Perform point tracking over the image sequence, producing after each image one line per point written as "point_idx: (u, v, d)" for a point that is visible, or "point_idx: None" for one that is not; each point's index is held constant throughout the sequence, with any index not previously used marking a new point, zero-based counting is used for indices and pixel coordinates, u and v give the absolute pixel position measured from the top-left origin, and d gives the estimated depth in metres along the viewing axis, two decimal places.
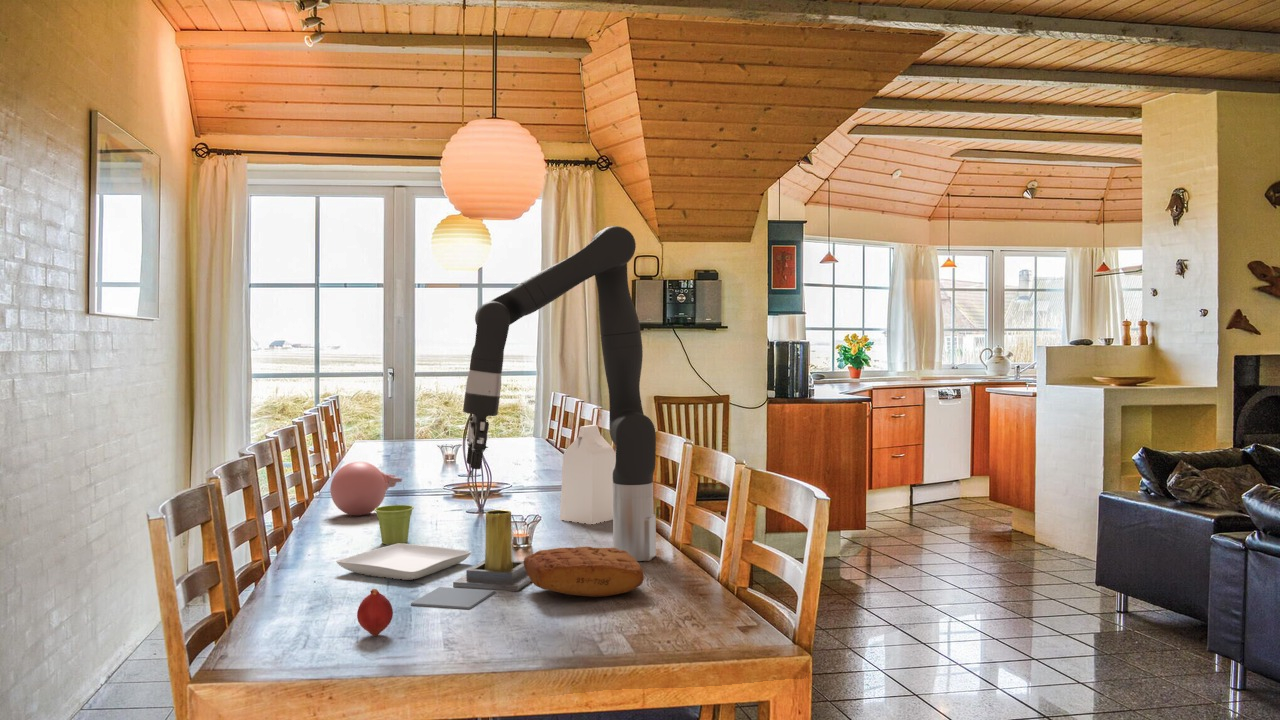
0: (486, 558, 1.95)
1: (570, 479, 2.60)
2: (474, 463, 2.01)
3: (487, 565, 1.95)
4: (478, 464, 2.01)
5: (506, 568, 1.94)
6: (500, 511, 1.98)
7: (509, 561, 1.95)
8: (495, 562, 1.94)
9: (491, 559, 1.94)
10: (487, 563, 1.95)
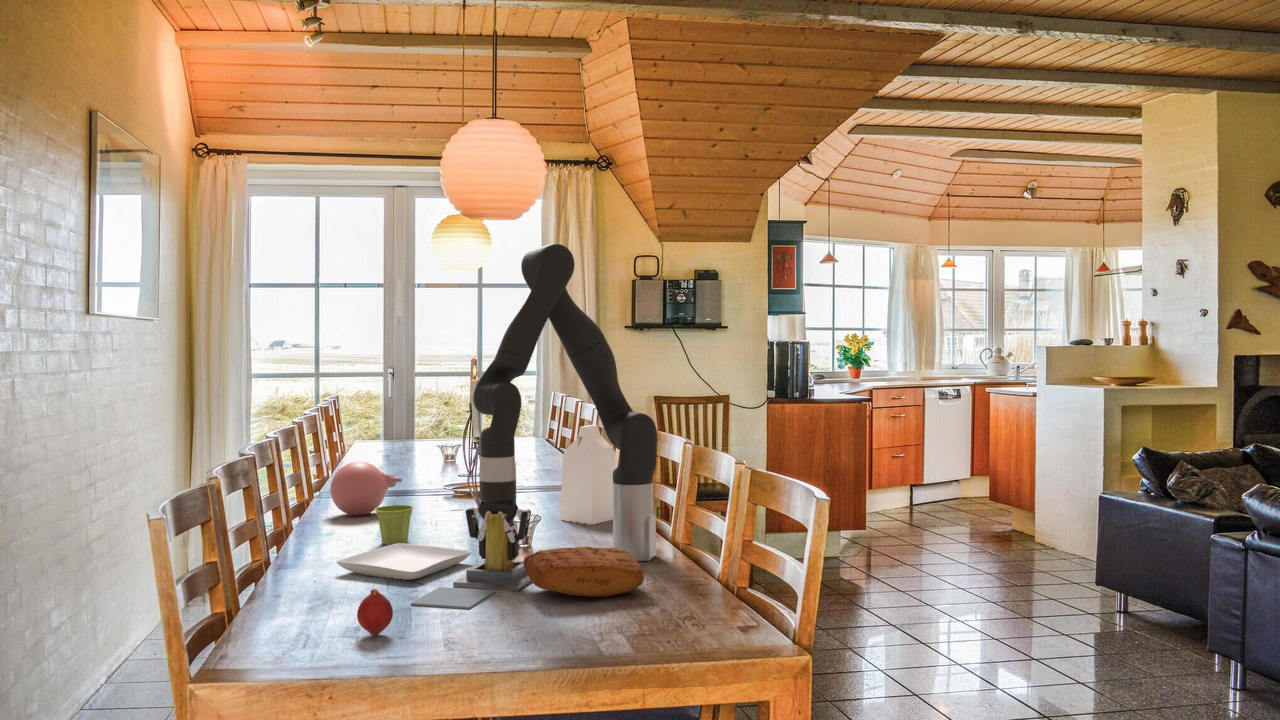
0: (486, 558, 1.95)
1: (570, 479, 2.60)
2: (516, 554, 1.95)
3: (487, 565, 1.95)
4: (517, 554, 1.96)
5: (506, 568, 1.94)
6: None
7: (509, 561, 1.95)
8: (495, 562, 1.94)
9: (491, 559, 1.94)
10: (487, 563, 1.95)
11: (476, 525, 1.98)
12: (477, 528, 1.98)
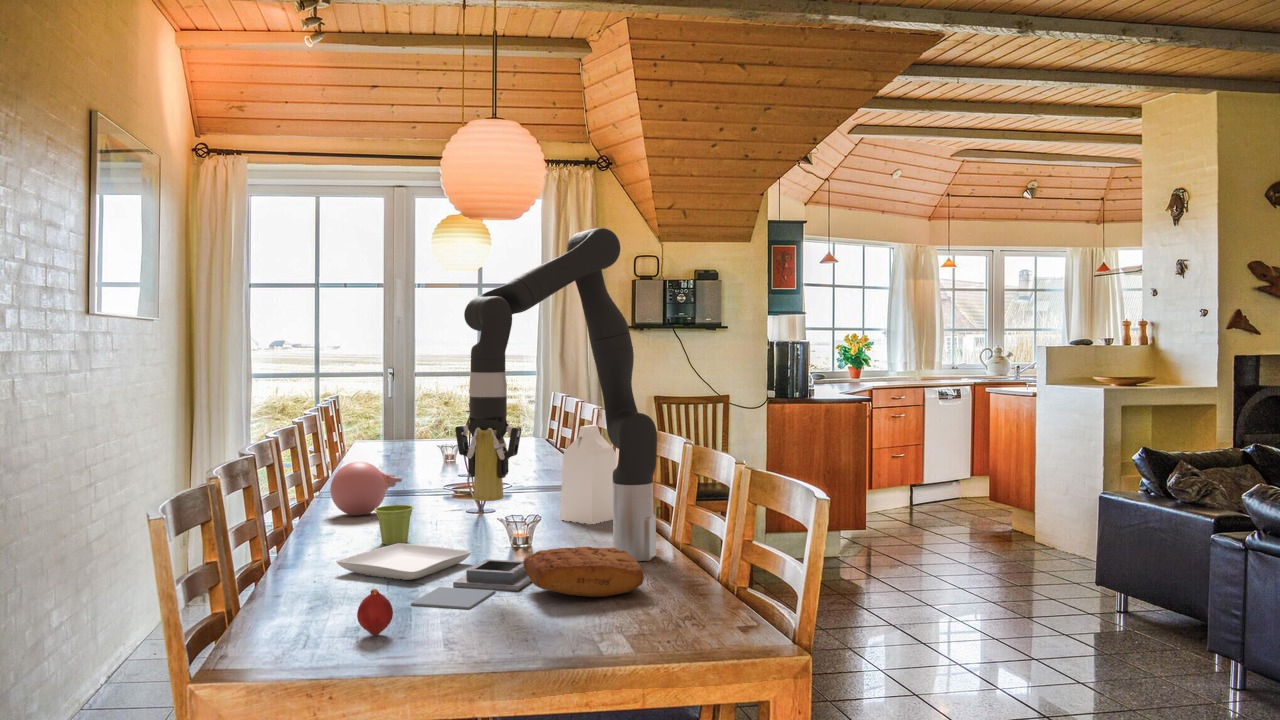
0: (475, 475, 1.92)
1: (570, 479, 2.60)
2: (505, 471, 1.92)
3: (476, 482, 1.92)
4: (507, 472, 1.93)
5: (495, 485, 1.91)
6: None
7: (498, 479, 1.92)
8: (484, 479, 1.91)
9: (480, 476, 1.91)
10: (476, 480, 1.92)
11: (466, 443, 1.95)
12: (467, 446, 1.95)
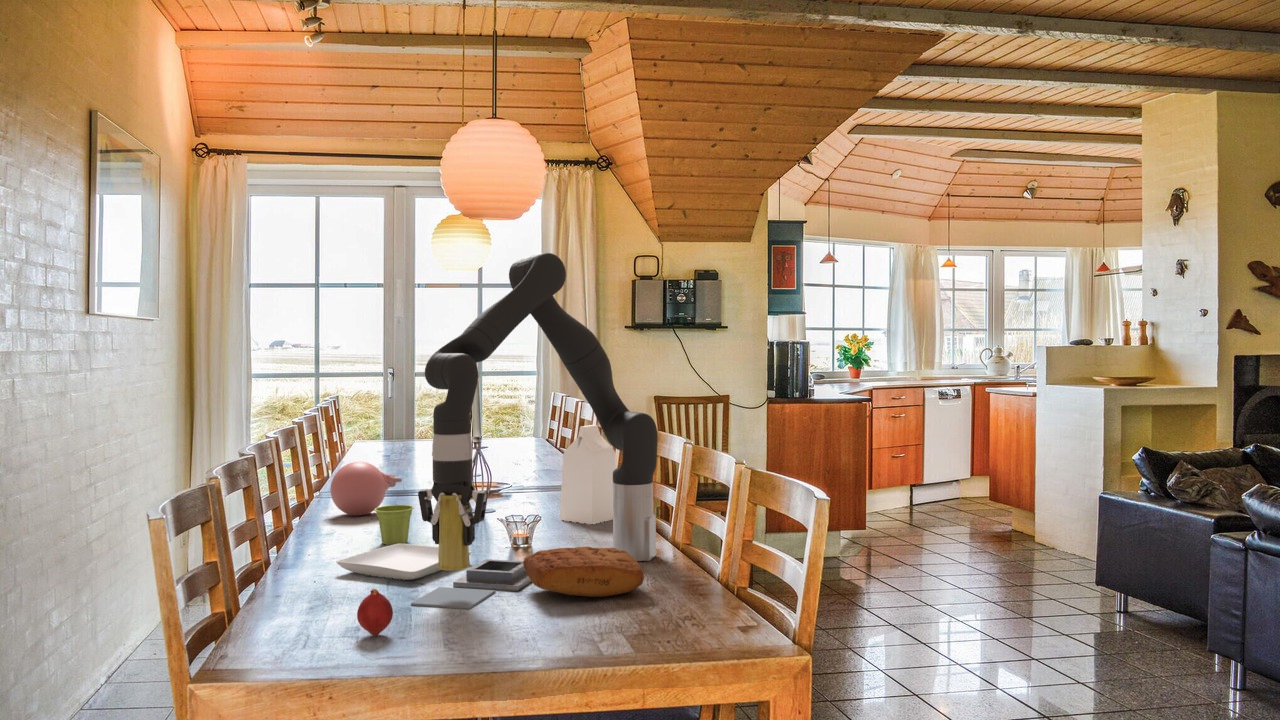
0: (440, 543, 1.81)
1: (570, 479, 2.60)
2: (472, 539, 1.81)
3: (441, 551, 1.81)
4: (474, 538, 1.82)
5: (461, 554, 1.80)
6: None
7: (464, 546, 1.81)
8: (449, 547, 1.80)
9: (445, 544, 1.80)
10: (441, 548, 1.81)
11: (430, 508, 1.84)
12: (431, 511, 1.84)
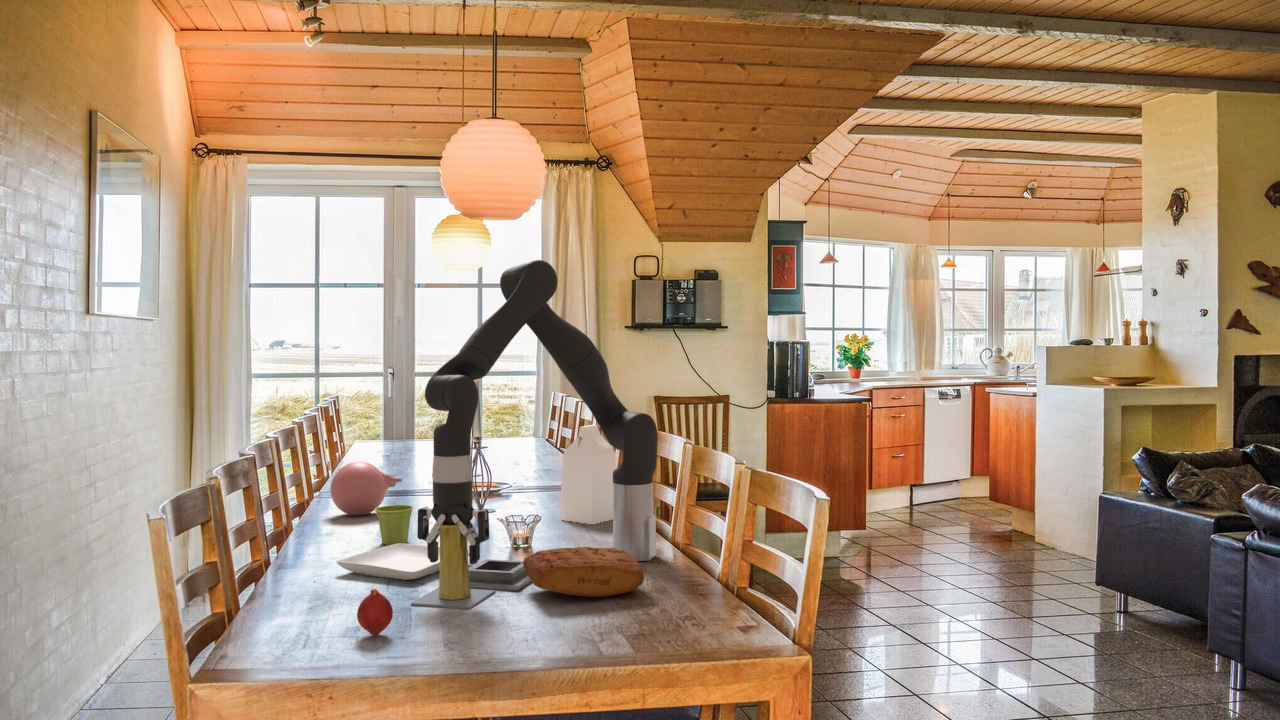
0: (440, 572, 1.81)
1: (570, 479, 2.60)
2: (477, 558, 1.81)
3: (441, 580, 1.81)
4: (479, 557, 1.81)
5: (461, 583, 1.80)
6: None
7: (465, 576, 1.81)
8: (450, 577, 1.80)
9: (445, 574, 1.80)
10: (441, 578, 1.81)
11: (426, 526, 1.84)
12: (427, 530, 1.85)
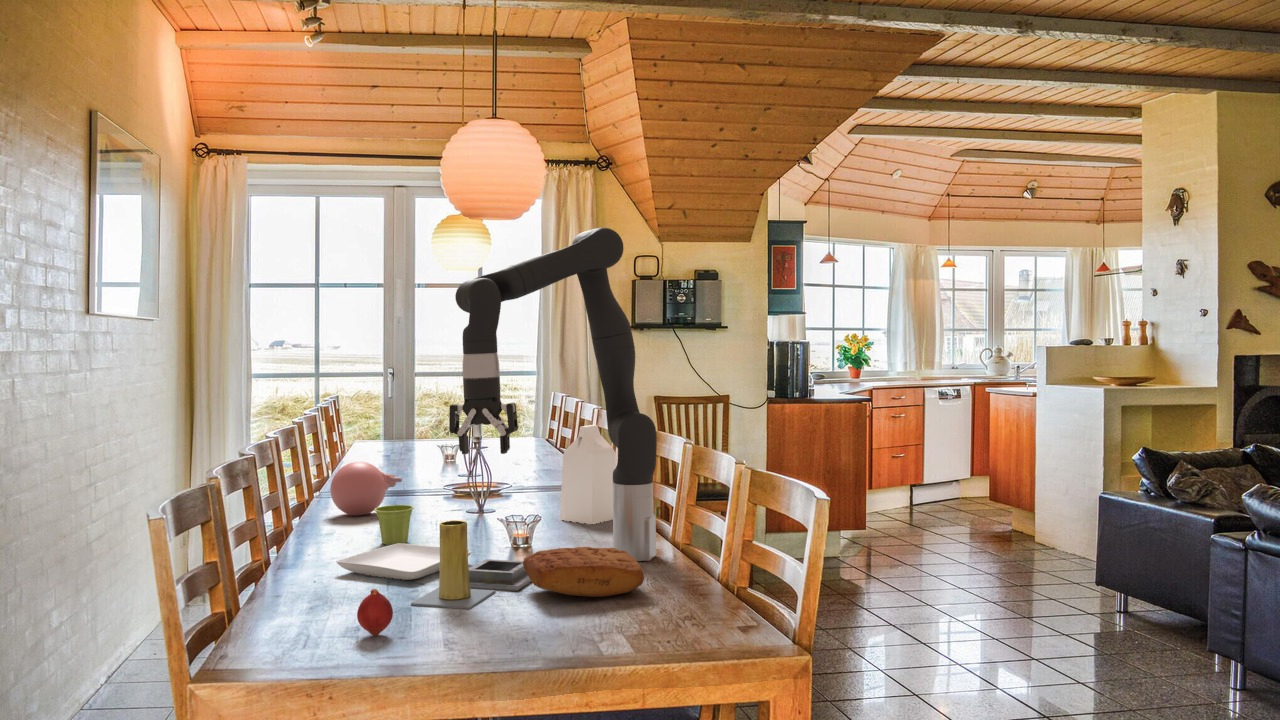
0: (440, 572, 1.82)
1: (570, 479, 2.60)
2: (507, 447, 1.94)
3: (441, 580, 1.81)
4: (509, 447, 1.95)
5: (461, 583, 1.80)
6: (456, 522, 1.85)
7: (465, 576, 1.81)
8: (449, 577, 1.80)
9: (445, 574, 1.80)
10: (441, 578, 1.81)
11: (457, 422, 1.98)
12: (457, 425, 1.98)
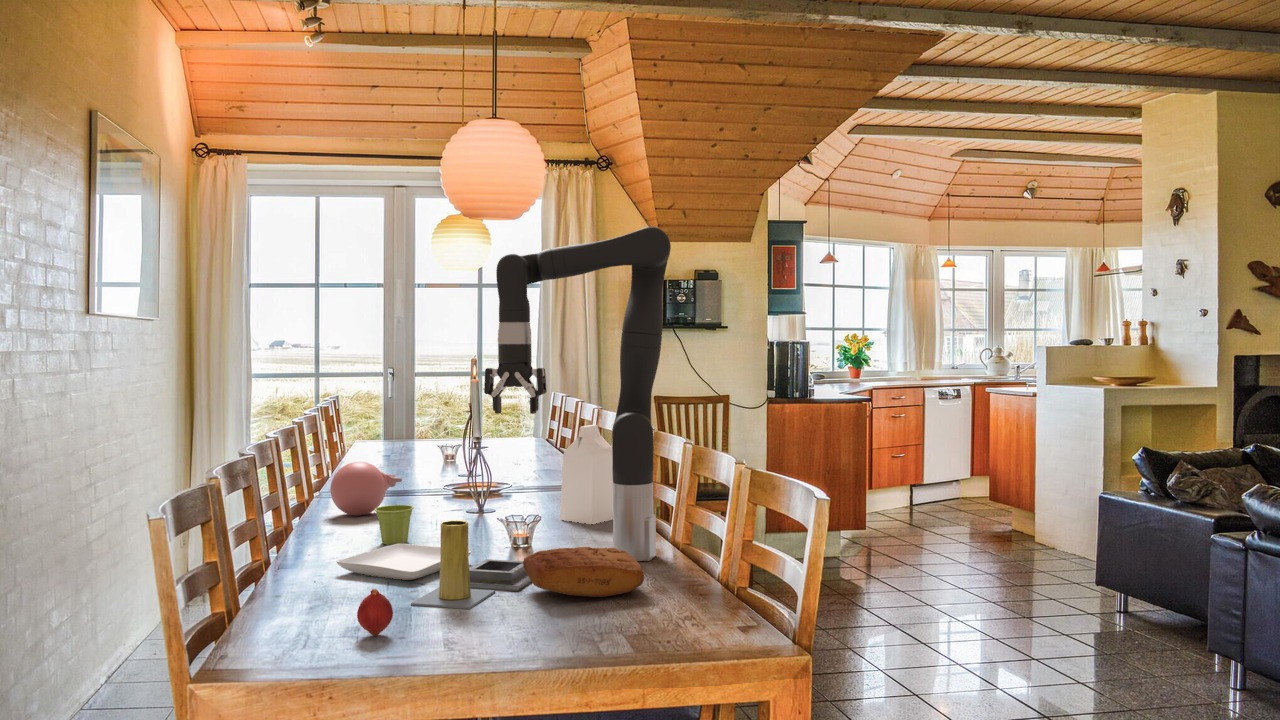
0: (441, 572, 1.81)
1: (570, 479, 2.60)
2: (536, 408, 2.14)
3: (441, 580, 1.81)
4: (537, 408, 2.15)
5: (462, 583, 1.80)
6: (457, 522, 1.85)
7: (465, 576, 1.81)
8: (450, 577, 1.80)
9: (445, 574, 1.80)
10: (442, 578, 1.81)
11: (491, 384, 2.18)
12: (492, 387, 2.18)
